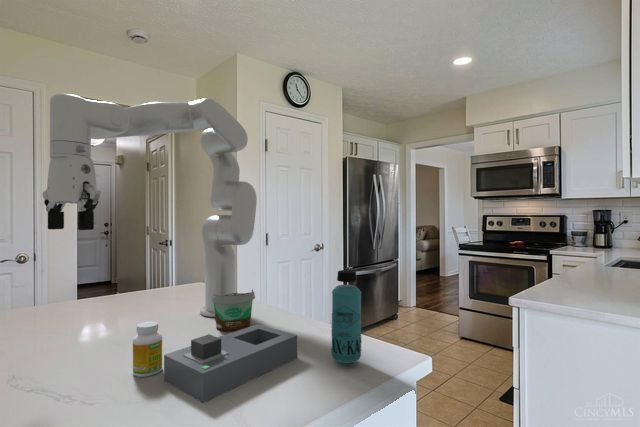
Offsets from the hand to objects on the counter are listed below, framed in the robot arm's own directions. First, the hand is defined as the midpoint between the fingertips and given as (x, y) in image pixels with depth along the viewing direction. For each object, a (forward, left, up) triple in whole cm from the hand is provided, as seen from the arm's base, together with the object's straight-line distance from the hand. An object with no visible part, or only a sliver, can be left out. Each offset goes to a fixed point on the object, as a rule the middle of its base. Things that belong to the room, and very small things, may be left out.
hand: (70, 229), depth 79 cm
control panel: (-19, +33, -29) cm, 48 cm away
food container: (-35, +13, -29) cm, 48 cm away
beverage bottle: (-35, +50, -29) cm, 68 cm away
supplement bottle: (-7, +20, -29) cm, 36 cm away
